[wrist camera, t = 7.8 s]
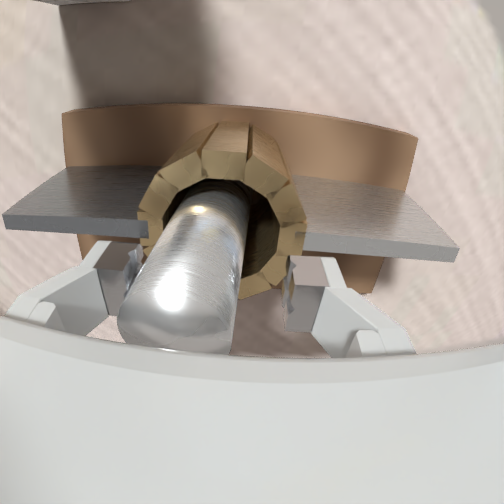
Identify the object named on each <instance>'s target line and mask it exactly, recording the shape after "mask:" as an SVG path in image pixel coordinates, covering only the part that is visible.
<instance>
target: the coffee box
mask: <svg viewBox="0 0 504 504" xmlns="http://www.w3.org/2000/svg"><path fill="white" fill-rule="evenodd" d="M34 1H40V2H45V3H50V4H54V5H66V4H76V3H91V2H116V1H131V0H34Z"/></svg>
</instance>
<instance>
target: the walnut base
mask: <svg viewBox="0 0 504 504" xmlns="http://www.w3.org/2000/svg"><path fill="white" fill-rule="evenodd" d="M221 121H231V122H246V123H249V128H250V127H251V126H252V124H254V125H255V126H257V127H258V128H259V129H261V130H262V131H264V132H265V133H267V134H268V135H270V136H271V137H273V138H274V139H275V141H276V142H278V144H279V147H280V149H281V151H282V153H283V155H284V158H285V160H286V162H287V164H288V167H289V170H290V172H291V174H292V175H301V176H310V177H318V178H326V179H333V180H341V181H348V182H355V183H361V184H368V185H374V186H380V187H386V188H392V189H398V190H403V191H404V192H405V190H406V186H407V183H408V179H409V175H410V171H411V167H412V163H413V159H414V155H415V150H416V146H417V141H418V138H417V137H415V136H413V135H411V134H409V133H406V132H402V131H398V130H394V129H390V128H386V127H381V126H377V125H372V124H368V123H363V122H358V121H353V120H348V119H343V118H337V117H331V116H325V115H319V114H313V113H306V112H298V111H291V110H282V109H273V108H263V107H252V106H238V105H221V104H187V103H168V104H135V105H118V106H105V107H94V108H85V109H76V110H71V111H68V112H65V113H62V128H63V142H64V153H65V163H66V168H67V167H69V166H107V165H144V166H164V165H165V164H166V162H167V161H168V160H169V159H170V158H171V157H172V156H173V155H174V154H175V153H176V152H177V151H178V150H179V149H180V147H181V146H182V145H183V144H184V143H185V142H186V141H187V140H188V139H189V138H190V137H191V136H192V135H193V134H194V133H196V132H198V131H200V130H202V129H204V128H206V127H208V126H210V125H212V124H214V123H216V122H218V123H219V124H220V123H221ZM262 196H263V195H262V194H260V193H259V192H257V191H255V190H254V189H253V194H252V201H251V205H253V204H256V203H257V202H258V201H259V200H260V198H261V197H262ZM77 237H78V242H79V247H80V251H81V255H82V260H83V259H84V258H85V257H86V255H87V254H88V253H89V251H90V250H91V249H92V247H93V246H94V245H95V243H96V242H97V241H100V240H104V241H116V242H127V243H137V244H140V238H131V237H117V236H103V235H88V234H77ZM142 248H144V246H142ZM143 254H144V256H143V258H142V260H141V263H142V264H143V265H144V263H145V261H146V259H147V258H148V257H147V256H146V254H145V253H144V252H143ZM301 256H315V257H334V258H335V259H336V261H337V263H338V266H339V268H340V271H341V274H342V276H343V279H344V281H345V284H346V286H347V288H352V289H353V290H355V291H356V292H357V293H371V292H372V290H373V287H374V285H375V282H376V279H377V277H378V274H379V271H380V269H381V266H382V263H383V260H384V257H382V256H370V255H357V254H345V253H332V252H319V251H307V250H302V255H301ZM282 283H283V279H282V280H281V281H280V282H279V283H278V284H277V285H276V286H275V285H273V284H272V288H274V289H282Z"/></svg>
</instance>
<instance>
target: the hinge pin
mask: <svg viewBox="0 0 504 504" xmlns="http://www.w3.org/2000/svg"><path fill="white" fill-rule="evenodd" d="M252 194H253V189H252V188H251V187H249V186H248V185H246V184H245V183H243V182H242V181H240V180H228V179H213V178H205V179H203V180H201V181H199V182H196V183H194V184H193V185H192V186H191V188H190V189H189V191H188V192H187V194H186V195H185V197H184V199H183V200H182V202H181V203H180V205H179V206H178V208H177V210H176V211H175V213H174V214H173V216H172V218H171V219H170V221H169V222H168V224H167V226H166V227H165V229H164V231H163V232H162V234H161V236H160V237H159V239H158V241H157V242H156V244H155V246H154V247H153V249H152V251H151V253H150V254H149V256H148V258H147V259H146V261H145V263H144V265H143V266H142V268H141V270H140V272H139V274H138V275H137V277H136V279H135V281H134V283H133V284H132V286H131V288H130V290H129V292H128V294H127V295H126V297H125V299H124V301H123V303H122V305H121V307H120V309H119V311H118V315H117V325H118V329H119V332H120V334H121V336H122V338H123V339H124V341H125V342H126V343H127V344H134V345H140V346H147V347H155V348H163V349H171V350H180V351H189V352H199V353H210V354H223V355H229V353H230V351H231V345H232V337H233V330H234V323H235V315H236V308H237V301H238V293H239V286H240V279H241V272H242V265H243V257H244V250H245V243H246V236H247V229H248V222H249V215H250V208H251V201H252Z"/></svg>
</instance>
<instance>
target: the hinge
mask: <svg viewBox="0 0 504 504" xmlns="http://www.w3.org/2000/svg"><path fill="white" fill-rule="evenodd" d="M205 178H213V179H228V180H240V181H242V182H243V183H245V184H246V185H248V186H249V187H251V188H252V189H254V190H255V191H257V192H259V193H260V194H262V195H263V196H262V197H261V198H260V200H259V201H258V202H257V203H256V204H253V205H251V208H250V215H249V222H248V229H247V236H246V243H245V250H244V257H243V265H242V272H241V279H240V286H239V293H238V298H239V299H240V300H241V299H244V298H247V297H250V296H253V295H256V294H258V293H261V292H264V291H267V290H270V289H272V284H273V285H275V286H276V285H277V284H278V283H279V282H280V281H281V280H282V279H283V278H284V277H285V276H286V275H287V274H286V267H285V266H286V260H287V257H288V255H294V256H301V255H302V250H307V251H319V252H332V253H345V254H357V255H370V256H382V257H394V258H406V259H418V260H430V261H442V262H454V261H455V258H456V256H457V254H458V251H459V249H460V248H459V247H458V246H457V244H456V243H455V242H454V241H453V240H452V239H451V238H450V237H449V236H448V235H447V234H446V233H445V232H444V231H443V229H442V228H441V227H440V226H439V225H438V224H437V223H436V222H435V221H434V220H433V219H432V218H431V217H430V216H429V215H428V214H427V213H426V212H425V211H424V210H423V209H422V208H421V207H420V206H419V205H418V204H417V203H416V202H415V201H413V200H412V199H411V198H410V197H409V196H408V195H407V194H406V193H405V192H404V191H403V190H398V189H392V188H386V187H380V186H374V185H368V184H361V183H355V182H348V181H341V180H333V179H326V178H318V177H310V176H301V175H292V174H291V172H290V170H289V167H288V164H287V162H286V160H285V158H284V155H283V153H282V151H281V149H280V147H279V144H278V142H276V141H275V139H274V138H273V137H271V136H270V135H268V134H267V133H265V132H264V131H262V130H261V129H259V128H258V127H257V126H255V125H254V124H252V126H251V127H250V128H249V123H246V122H231V121H221V123H220V124H219V123H218V122H216V123H214V124H212V125H210V126H208V127H206V128H204V129H202V130H200V131H198V132H196V133H194V134H193V135H192V136H191V137H190V138H189V139H188V140H187V141H186V142H185V143H184V144H183V145H182V146H181V147H180V149H179V150H178V151H177V152H176V153H175V154H174V155H173V156H172V157H171V158H170V159H169V160H168V161H167V162H166V164H165V165H164V166H144V165H107V166H69V167H67V168H65V169H64V170H62V171H61V172H59V173H58V174H56V175H55V176H53V177H52V178H50V179H49V180H47V181H46V182H45V183H43V184H42V185H40V186H39V187H37V188H36V189H35V190H33V191H32V192H31V193H29V194H28V195H27V196H25V197H24V198H23V199H21V200H20V201H19V202H17V203H16V204H15V205H13V206H12V207H11V208H10V209H8V210H7V211H6V212H5V213H3V214H2V216H3V220H4V224H5V227H6V229H12V230H28V231H43V232H58V233H73V234H88V235H103V236H117V237H131V238H140V244H141V246H144V248H143V252H144V253H145V254H146V256H147V257H148V256H149V254H150V253H151V251H152V249H153V247H154V246H155V244H156V242H157V241H158V239H159V237H160V236H161V234H162V232H163V231H164V229H165V227H166V226H167V224H168V222H169V221H170V219H171V218H172V216H173V214H174V213H175V211H176V210H177V208H178V206H179V205H180V203H181V202H182V200H183V199H184V197H185V195H186V194H187V192H188V191H189V189H190V188H191V186H192V185H193V184H194V183H196V182H199V181H201V180H203V179H205Z"/></svg>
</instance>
